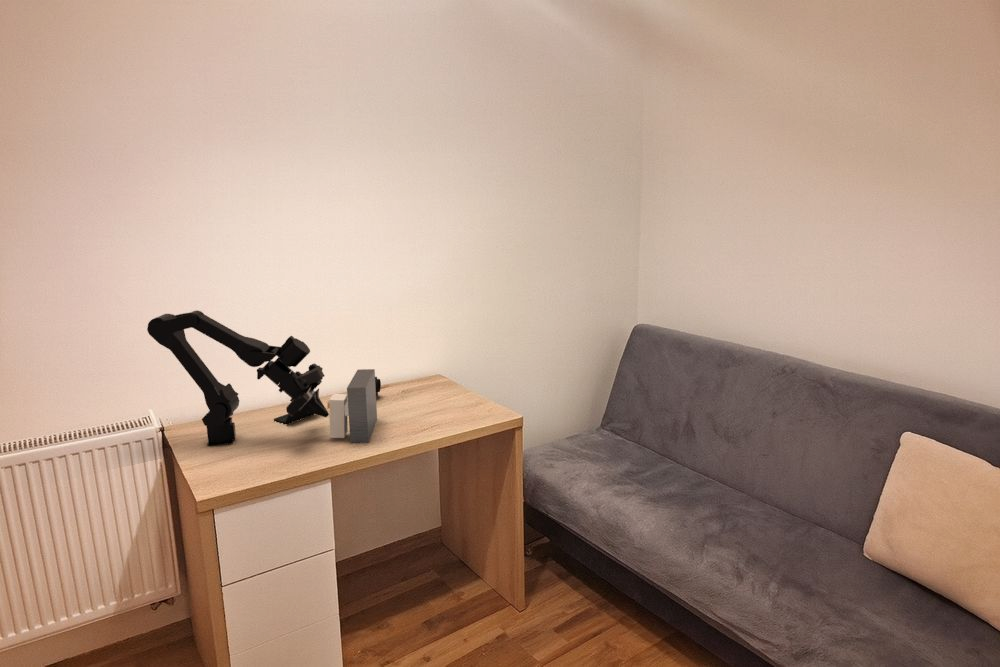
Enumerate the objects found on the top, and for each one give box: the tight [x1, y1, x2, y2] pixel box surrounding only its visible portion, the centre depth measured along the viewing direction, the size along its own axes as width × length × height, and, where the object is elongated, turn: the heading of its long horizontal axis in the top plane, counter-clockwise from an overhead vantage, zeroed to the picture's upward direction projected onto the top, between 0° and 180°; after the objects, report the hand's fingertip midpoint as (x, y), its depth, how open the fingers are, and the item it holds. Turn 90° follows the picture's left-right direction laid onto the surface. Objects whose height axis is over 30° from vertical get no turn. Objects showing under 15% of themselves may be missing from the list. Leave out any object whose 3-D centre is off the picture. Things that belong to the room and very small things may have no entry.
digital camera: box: [375, 376, 382, 398], centre depth 213 cm, size 10×5×7 cm, turn 177°
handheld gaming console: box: [273, 410, 314, 425], centre depth 197 cm, size 12×7×10 cm
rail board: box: [344, 368, 378, 444], centre depth 186 cm, size 6×18×16 cm, turn 3°
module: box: [327, 393, 349, 439], centre depth 181 cm, size 5×5×11 cm
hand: (327, 415), depth 181 cm, fingers closed
